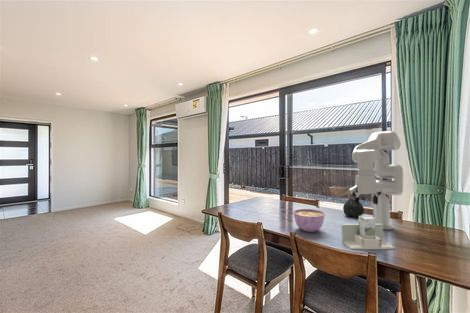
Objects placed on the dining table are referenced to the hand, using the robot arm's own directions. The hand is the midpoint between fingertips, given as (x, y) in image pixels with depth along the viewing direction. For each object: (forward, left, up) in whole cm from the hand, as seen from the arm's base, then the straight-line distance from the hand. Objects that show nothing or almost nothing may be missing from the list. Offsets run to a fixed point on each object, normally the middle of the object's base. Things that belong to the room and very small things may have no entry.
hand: (366, 204), depth 122 cm
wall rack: (0, 0, -22) cm, 22 cm away
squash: (-55, +20, -23) cm, 63 cm away
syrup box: (0, 0, -22) cm, 22 cm away
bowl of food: (-24, -24, -23) cm, 41 cm away
